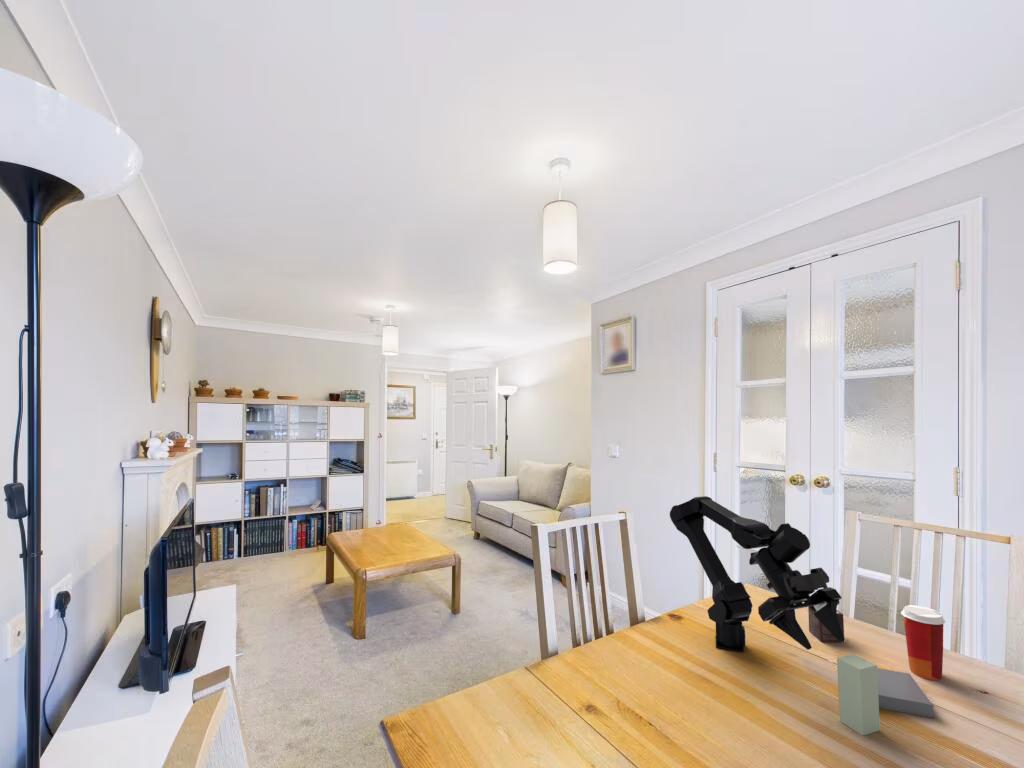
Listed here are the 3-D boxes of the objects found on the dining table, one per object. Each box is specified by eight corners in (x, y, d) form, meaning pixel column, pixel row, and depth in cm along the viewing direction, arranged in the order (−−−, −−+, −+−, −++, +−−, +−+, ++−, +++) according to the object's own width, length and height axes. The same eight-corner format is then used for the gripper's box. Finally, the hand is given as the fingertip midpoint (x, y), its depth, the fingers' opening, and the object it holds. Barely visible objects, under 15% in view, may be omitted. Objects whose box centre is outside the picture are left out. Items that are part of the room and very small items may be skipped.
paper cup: (937, 667, 112) (934, 606, 112) (955, 685, 104) (952, 620, 105) (897, 662, 114) (894, 602, 115) (912, 679, 107) (909, 615, 108)
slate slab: (859, 703, 98) (859, 691, 98) (844, 673, 109) (844, 662, 110) (933, 717, 94) (932, 704, 94) (909, 685, 105) (909, 673, 105)
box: (832, 632, 130) (831, 604, 130) (845, 643, 124) (844, 614, 124) (808, 631, 130) (807, 604, 131) (820, 642, 124) (819, 613, 125)
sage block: (839, 720, 93) (836, 657, 94) (855, 715, 95) (853, 653, 95) (862, 735, 89) (860, 669, 90) (879, 730, 90) (876, 665, 91)
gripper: (766, 559, 101) (817, 636, 90) (831, 550, 107) (886, 621, 96) (739, 584, 108) (783, 658, 97) (801, 575, 114) (849, 643, 103)
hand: (826, 645), depth 98 cm, fingers open, 9 cm apart
